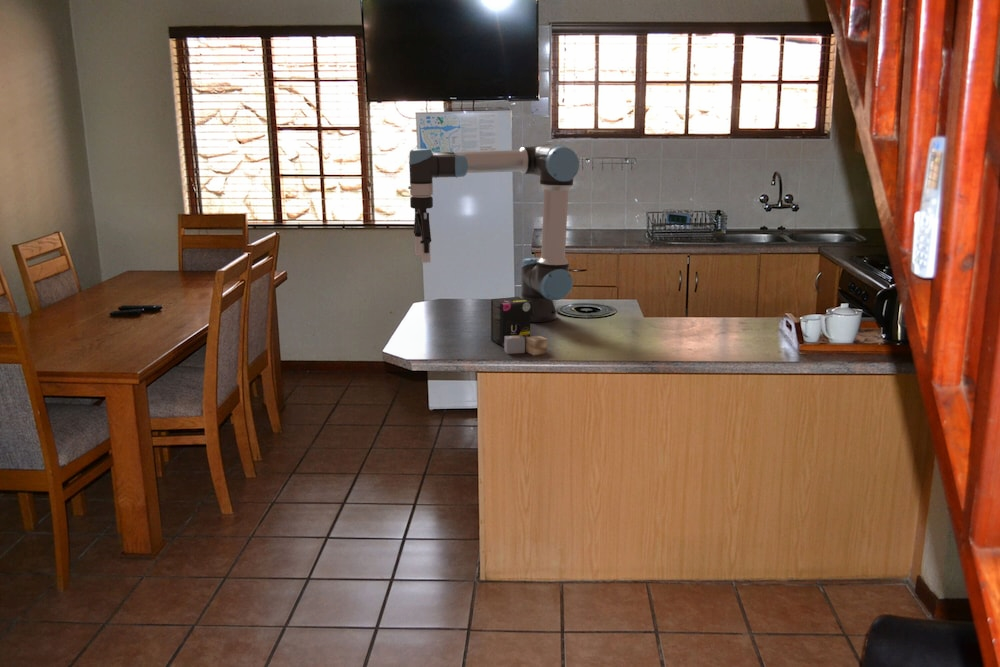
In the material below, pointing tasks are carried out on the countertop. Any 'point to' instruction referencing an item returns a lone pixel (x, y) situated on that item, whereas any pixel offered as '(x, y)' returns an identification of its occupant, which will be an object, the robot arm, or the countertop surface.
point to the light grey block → (514, 344)
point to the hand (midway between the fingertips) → (422, 258)
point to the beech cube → (536, 345)
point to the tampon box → (510, 318)
